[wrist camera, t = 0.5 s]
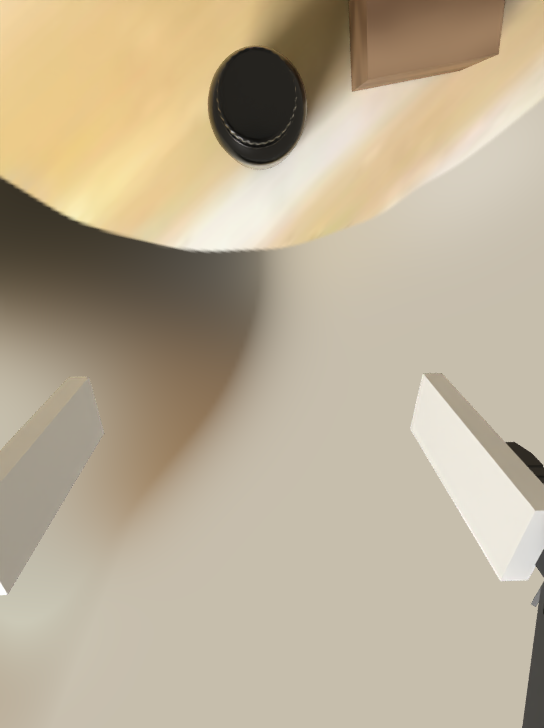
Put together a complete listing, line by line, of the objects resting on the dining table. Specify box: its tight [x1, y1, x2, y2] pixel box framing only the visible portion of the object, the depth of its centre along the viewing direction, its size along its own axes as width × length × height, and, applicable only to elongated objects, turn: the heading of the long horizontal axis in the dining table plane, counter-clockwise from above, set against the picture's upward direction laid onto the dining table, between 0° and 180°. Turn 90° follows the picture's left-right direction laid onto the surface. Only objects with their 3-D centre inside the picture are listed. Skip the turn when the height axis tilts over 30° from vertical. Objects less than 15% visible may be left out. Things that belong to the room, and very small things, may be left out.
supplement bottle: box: [208, 46, 307, 170], centre depth 27 cm, size 7×7×12 cm
